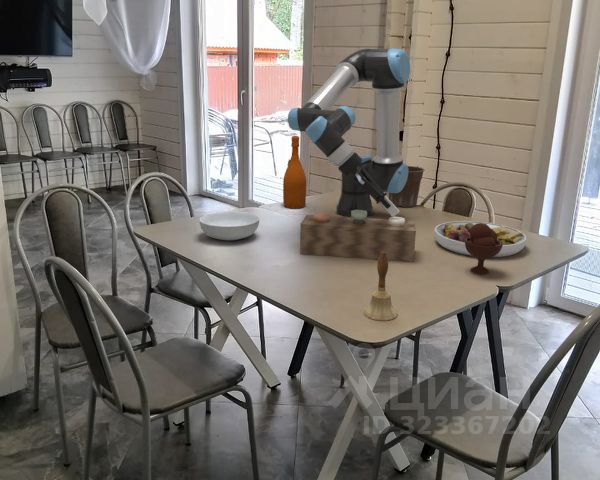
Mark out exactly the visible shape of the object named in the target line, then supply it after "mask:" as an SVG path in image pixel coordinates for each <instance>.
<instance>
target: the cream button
mask: <svg viewBox="0 0 600 480" xmlns="http://www.w3.org/2000/svg"><path fill="white" fill-rule="evenodd" d="M388 219H389V225H390V226H393V227H402V226H404V224H405V220H406V218H404V217H401V216H394V217H392V216H390V217H389V218H388Z"/></svg>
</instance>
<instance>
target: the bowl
mask: <svg viewBox="0 0 600 480" xmlns="http://www.w3.org/2000/svg"><path fill="white" fill-rule="evenodd" d="M478 223H483V224H487V225H488V226H489V227H490V228H491V229H493V231H495V232H496V233H497V240H499V241H502V244H503V246H502V248H501V250H500V252H499V253H498V254H497V255H495V256H494V257H493V258H505V257H510V256H513V255H516V254H518V253H519V252H521V251H522V250H523V249H524V248H525V246H526V243H527V235H526V234H525V233H524V232H522V231H520V230H519V229H516V228H513V227H509V226H507V225H502V224H498V223H493V222H486V221H476V220H475V221H473V220H458V221H457V220H456V221H455V220H454V221H447V222H442V223H440V224H438V225H436V226H435V227H434V238H435V240H436V242H437V243H438V244H439V245H440V246H441V247H443V248H445V249H446V250H448V251H451V252H454V253H456V254H461V255H464V256H471V257H473V256H472V255H471V254H470V253H469V252H468V251H467V250H466V247H465V238H467V237H470V233H469V231H470V229H471V227H472V226H474V225H475V224H478Z"/></svg>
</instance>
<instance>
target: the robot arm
mask: <svg viewBox="0 0 600 480" xmlns="http://www.w3.org/2000/svg"><path fill="white" fill-rule="evenodd" d="M410 74H411V63H410V58H409V56H408V54H407V52H406V51H405V50H404V49H402V48H389V47H387V48H362V49H359V50H357V51H355V52H353V53H351V54H349V55H347V56H346V57H345V58H343V59H342V60H341V61H340V62H339V63H338V64H337V65H336V66H335V68H334V72H333V74H332V75H331V76H330V77H329V78H328V79H327V80H326V81H325V82H324V83H323V84H322V85H321V87H319V89H318V90H317V91H316V92H315V93H314V94H313V95H312V96H311V97H310V99H309V100H308V101H307V102H306V103H305V104H304V105H303V106H302V107H294V108H291V109H290V110H289V112H288V115H287V124H288V127H289V129H291V130H292V131H298V132H300V133H301V132H305V134H306V136H307V137H308V138H309V139H310V141H311V142H312V143H313V144H314V145H315V146H316V147H317V148H318V149H319V150H320V151H321V152H322V153H323V154H324V155H325V157H327V159H328V161H329V163H332V164H333V165H334V166H335V167H338V168H337V169H338V171H339V172H340V173H341V193H340V197H339V199H338V203H337V204H336V207H335V208H336V211H335V213H337V214H338V215H340V216H343V217H351V211H352V210H365V211H367V217H368V216H369V217H370V216H371V215H373V214H374V206H373V203H372V199H373V200H374V201H375V203H376V204H377V205H378V204H380V205H381V206H382V207H383V208H384V210H385V211H387V213H388V214H389V215H390V217H396V216H397V215H398V213H400V210H399V208H397V206H395V205H394V204H393V203H392V202H391V201H390V200H389V197H388V196H387V195H388V194H389V193H399V192H400V191H401V190H402V189H403V188H404V186H405V184H406V181H407V178H408V166H409V165H408V164H406V163H404V157H403V156H401V154H400V107H401V106H400V101H401V98H400V94H401V93H400V92H401V90H403V88H404V87H405V83H407V82H408V81H409V79H410ZM360 82H371V88H372V90H374V91H375V93H376V94H375V95H376V97H375V99H376V100H375V101H376V102H375V103H376V104H375V105H376V107H375V108H376V111H375V112H376V115H375V116H376V125H375V126H376V155H375V156H374V157H372V156H370V155H359V154H358V153H357V152H354V148H353V147H352V146H350V144H349V143H348V142H347V141H346V140H345V139H344V138H343V136H344V135H345V134H346V133H347V132H349V131H350V130H351V128H352V127H353V125H354V124H355V122H356V115H355V112H354V110H353V109H352V108H350V107H349V106H347V105H341V106H339V107H337V108H336V109H334V110H333V109H332V108H333V106H335V104H336V103H338V101H339V100H340V98H342V97H343V95H344V94H345V93H347V91H348V90H349V88H351V87H355V86H356V85H357V83H360ZM371 198H372V199H371Z"/></svg>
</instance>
